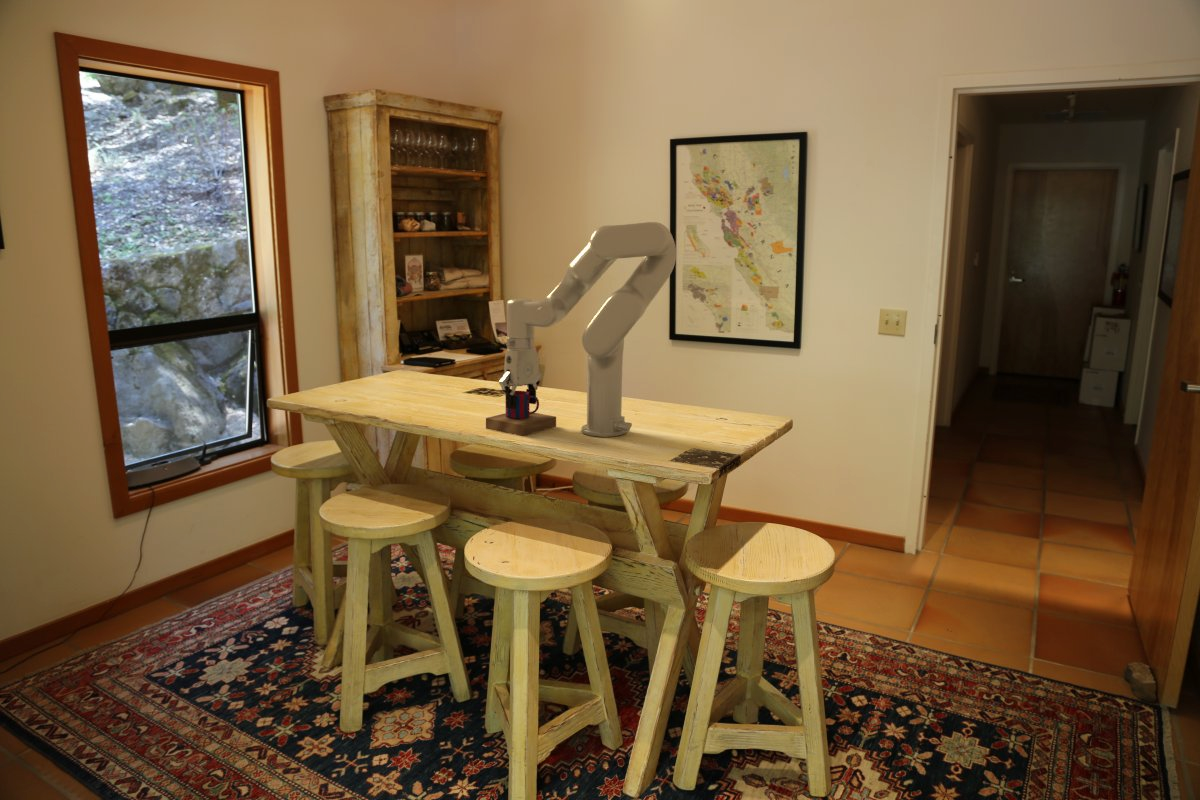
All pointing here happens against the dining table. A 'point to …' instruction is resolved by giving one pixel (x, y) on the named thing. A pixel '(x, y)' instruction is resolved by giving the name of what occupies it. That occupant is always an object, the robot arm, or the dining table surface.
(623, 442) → the dining table surface
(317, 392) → the dining table surface
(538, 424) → the walnut block
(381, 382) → the dining table surface
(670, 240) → the robot arm
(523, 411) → the mug
